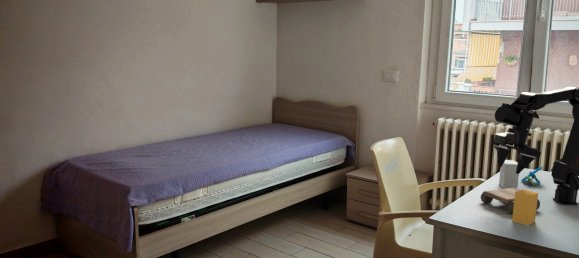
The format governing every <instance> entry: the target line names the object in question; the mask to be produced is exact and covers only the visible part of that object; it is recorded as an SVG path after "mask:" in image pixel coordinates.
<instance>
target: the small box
mask: <svg viewBox="0 0 579 258" xmlns="http://www.w3.org/2000/svg"><path fill="white" fill-rule="evenodd" d="M517 165H518V161H516V160H512V159H506V160H505V162H504V164H503V165H502V167H499V168H500V169H499V180H498V184H499V185H500V186H501V189H504V188H516V189H518V186H519V175H520V173H519V174H516V169H517Z"/></svg>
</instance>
